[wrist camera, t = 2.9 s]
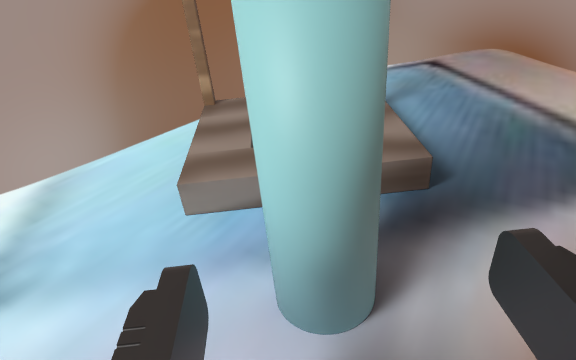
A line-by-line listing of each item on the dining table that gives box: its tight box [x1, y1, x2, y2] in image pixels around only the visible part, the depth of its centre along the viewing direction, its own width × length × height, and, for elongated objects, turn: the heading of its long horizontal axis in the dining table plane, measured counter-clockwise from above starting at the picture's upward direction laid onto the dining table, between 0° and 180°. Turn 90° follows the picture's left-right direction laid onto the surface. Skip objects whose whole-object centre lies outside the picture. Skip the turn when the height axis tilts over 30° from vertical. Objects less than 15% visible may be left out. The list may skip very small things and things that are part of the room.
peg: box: [231, 0, 391, 335], centre depth 15 cm, size 5×5×14 cm
